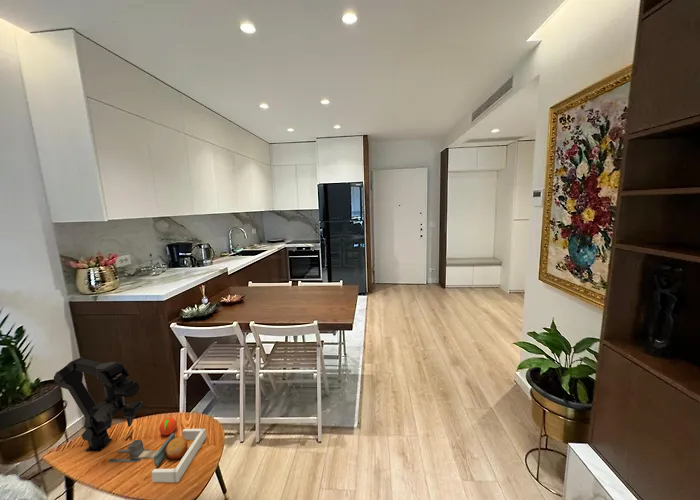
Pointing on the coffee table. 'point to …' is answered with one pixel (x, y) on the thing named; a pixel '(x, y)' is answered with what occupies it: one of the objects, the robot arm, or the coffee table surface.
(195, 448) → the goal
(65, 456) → the coffee table surface
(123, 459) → the track
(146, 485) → the coffee table surface
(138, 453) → the kicker
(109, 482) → the coffee table surface
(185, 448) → the fruit
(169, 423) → the clementine
